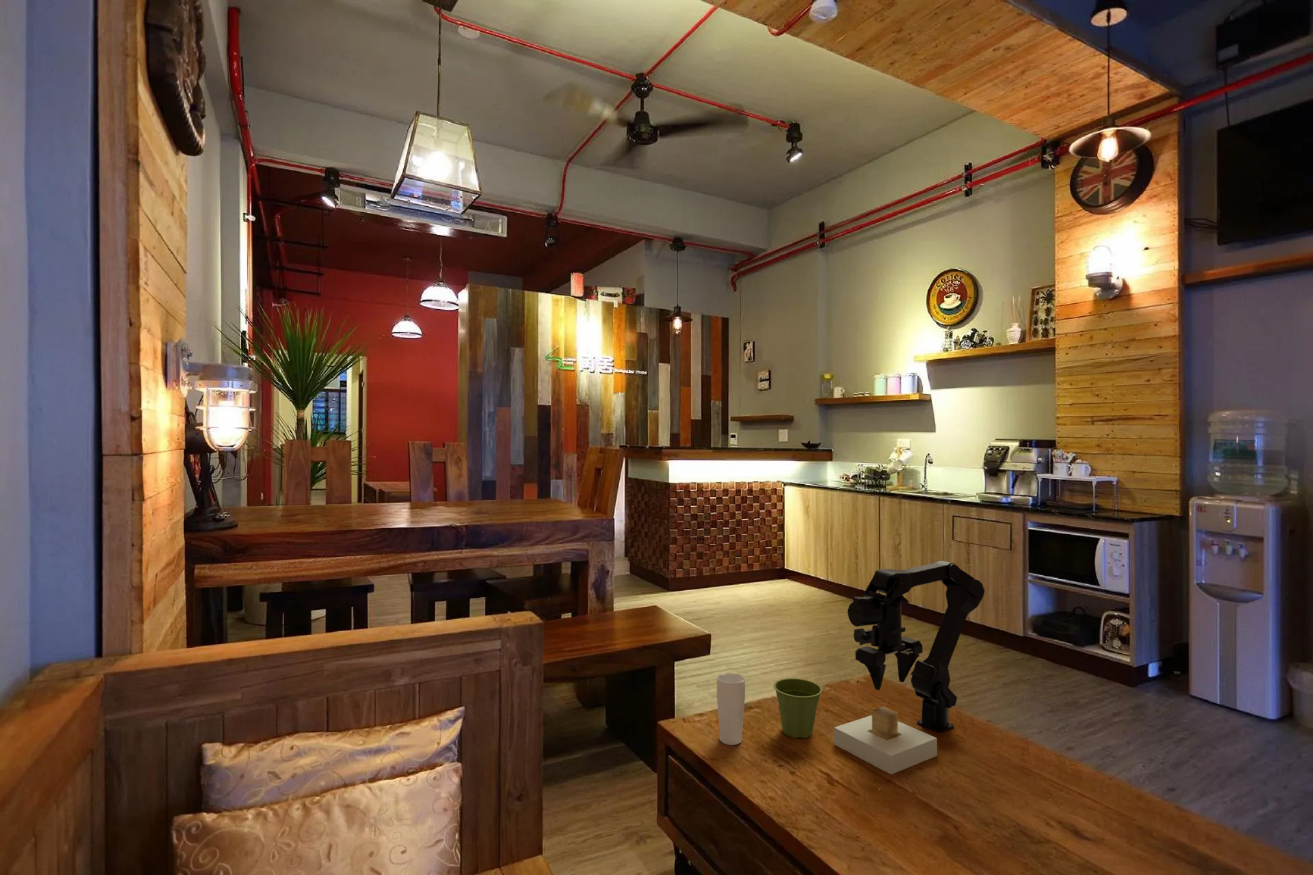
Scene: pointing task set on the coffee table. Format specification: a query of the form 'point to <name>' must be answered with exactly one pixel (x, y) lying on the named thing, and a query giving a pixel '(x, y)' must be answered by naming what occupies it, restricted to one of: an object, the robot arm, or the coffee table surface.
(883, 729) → the peg
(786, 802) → the coffee table surface
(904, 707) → the coffee table surface
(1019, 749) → the coffee table surface
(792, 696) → the plant pot
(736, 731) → the drinking glass
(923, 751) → the socket block
